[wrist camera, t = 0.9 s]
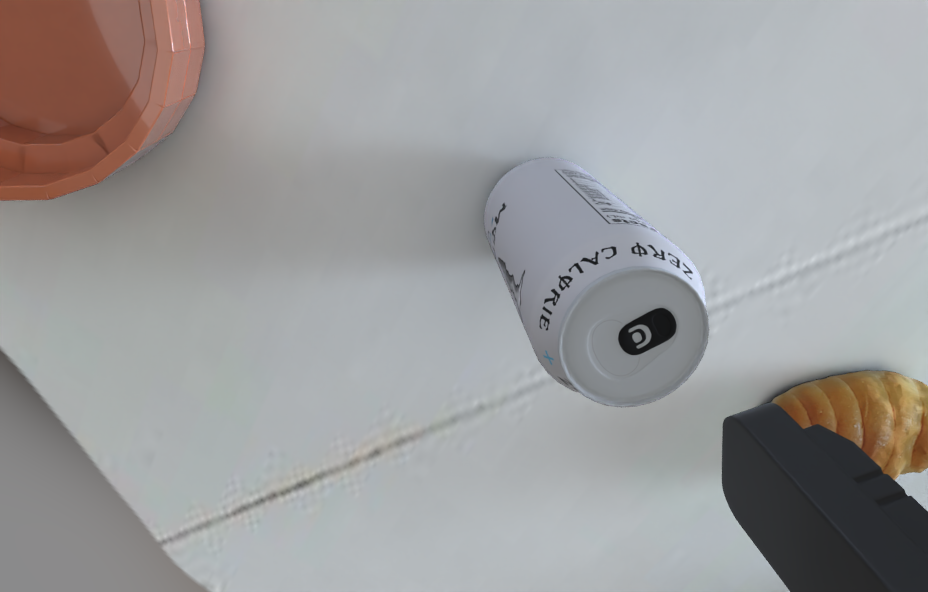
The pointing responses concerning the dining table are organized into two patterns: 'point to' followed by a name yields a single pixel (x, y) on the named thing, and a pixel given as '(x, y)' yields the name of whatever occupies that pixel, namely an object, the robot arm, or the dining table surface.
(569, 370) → the energy drink can
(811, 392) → the pastry
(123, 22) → the bowl
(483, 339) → the dining table surface
